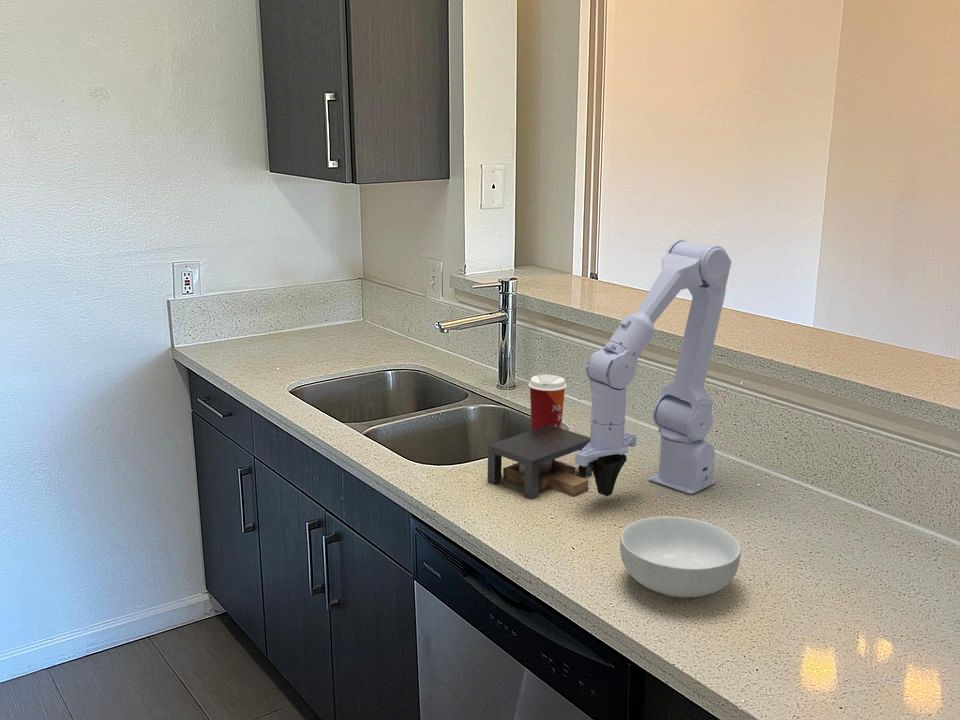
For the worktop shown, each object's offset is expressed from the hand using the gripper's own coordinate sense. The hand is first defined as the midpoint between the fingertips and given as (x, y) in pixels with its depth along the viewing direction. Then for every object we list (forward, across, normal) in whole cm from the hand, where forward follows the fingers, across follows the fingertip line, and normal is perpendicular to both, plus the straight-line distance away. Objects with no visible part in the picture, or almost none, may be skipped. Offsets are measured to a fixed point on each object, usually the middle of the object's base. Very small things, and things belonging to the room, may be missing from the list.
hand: (604, 493), depth 160 cm
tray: (+2, 0, +13) cm, 13 cm away
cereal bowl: (+2, -16, -26) cm, 30 cm away
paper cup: (+2, +14, +26) cm, 30 cm away
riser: (+2, 0, +15) cm, 15 cm away
